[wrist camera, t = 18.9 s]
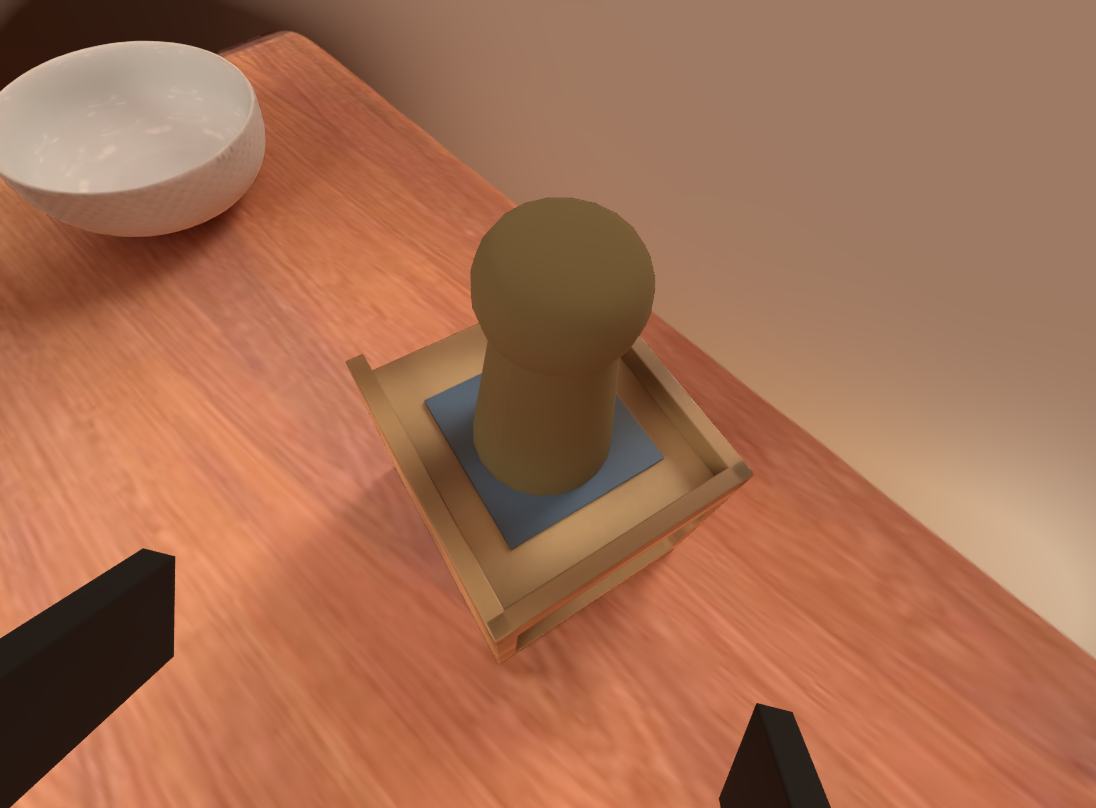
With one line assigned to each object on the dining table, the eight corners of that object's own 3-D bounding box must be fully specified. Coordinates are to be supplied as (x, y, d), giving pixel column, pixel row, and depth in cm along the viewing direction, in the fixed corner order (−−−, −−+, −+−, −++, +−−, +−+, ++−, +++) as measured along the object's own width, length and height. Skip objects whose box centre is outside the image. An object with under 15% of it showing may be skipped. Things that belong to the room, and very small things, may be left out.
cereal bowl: (126, 311, 38) (52, 234, 31) (14, 190, 42) (-70, 102, 36) (330, 194, 44) (301, 111, 38) (214, 100, 49) (171, 13, 43)
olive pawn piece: (564, 350, 26) (599, 139, 16) (639, 453, 23) (733, 278, 14) (448, 406, 24) (409, 205, 14) (517, 523, 22) (526, 378, 12)
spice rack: (394, 466, 34) (344, 360, 23) (558, 383, 37) (578, 260, 27) (498, 665, 29) (494, 643, 18) (675, 546, 32) (755, 473, 22)
